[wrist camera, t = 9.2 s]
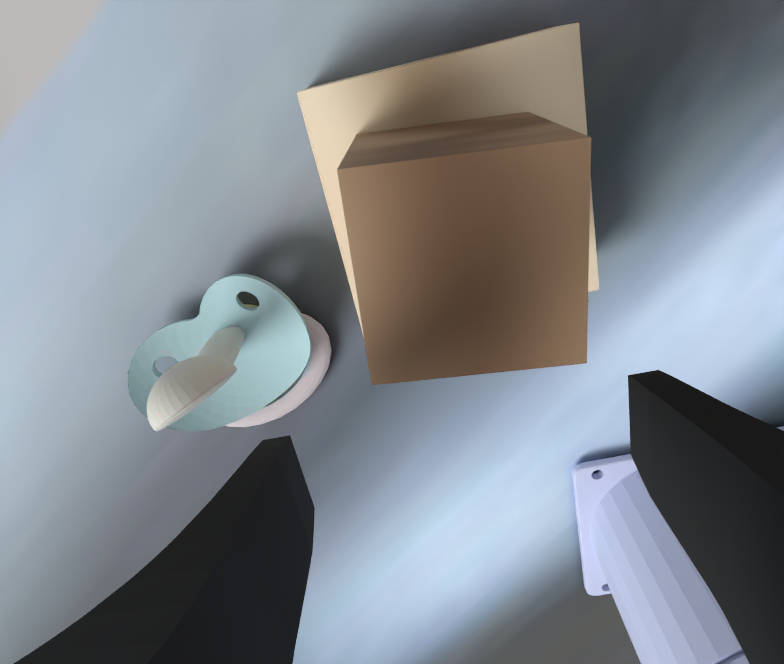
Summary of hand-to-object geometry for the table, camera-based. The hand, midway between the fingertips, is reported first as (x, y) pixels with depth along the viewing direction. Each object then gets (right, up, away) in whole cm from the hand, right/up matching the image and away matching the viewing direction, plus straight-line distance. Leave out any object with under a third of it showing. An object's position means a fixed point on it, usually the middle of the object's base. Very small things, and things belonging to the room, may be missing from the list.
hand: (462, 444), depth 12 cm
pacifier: (-7, +2, +11) cm, 13 cm away
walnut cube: (0, +6, +6) cm, 8 cm away
